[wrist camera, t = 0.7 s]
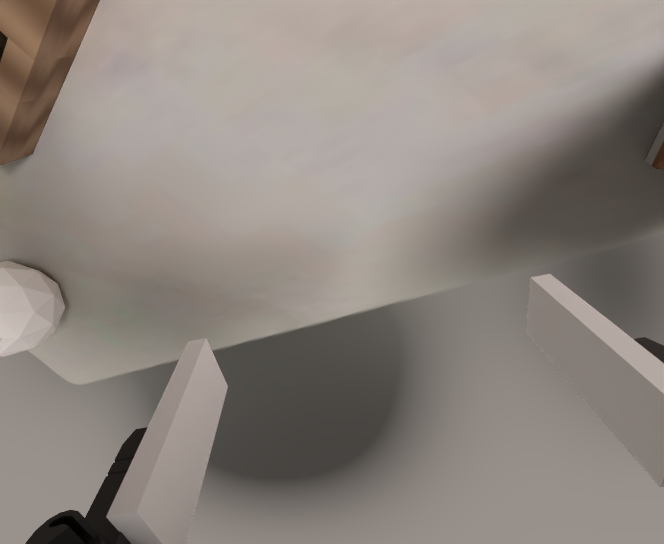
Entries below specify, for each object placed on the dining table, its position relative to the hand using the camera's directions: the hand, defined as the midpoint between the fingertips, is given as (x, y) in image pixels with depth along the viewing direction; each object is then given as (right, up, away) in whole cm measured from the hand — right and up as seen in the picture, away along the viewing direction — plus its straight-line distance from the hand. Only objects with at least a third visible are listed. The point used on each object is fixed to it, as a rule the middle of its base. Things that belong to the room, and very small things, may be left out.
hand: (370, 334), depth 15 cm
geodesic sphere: (-47, +1, +42) cm, 63 cm away
